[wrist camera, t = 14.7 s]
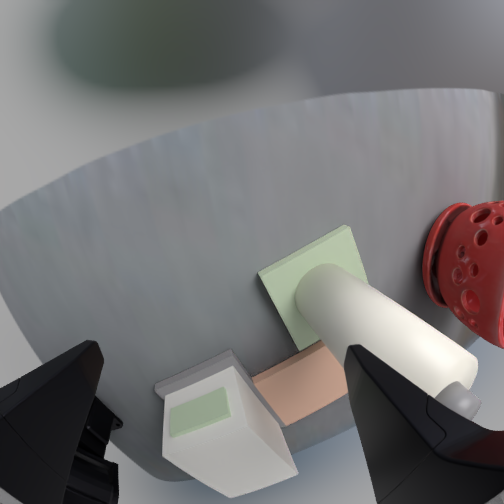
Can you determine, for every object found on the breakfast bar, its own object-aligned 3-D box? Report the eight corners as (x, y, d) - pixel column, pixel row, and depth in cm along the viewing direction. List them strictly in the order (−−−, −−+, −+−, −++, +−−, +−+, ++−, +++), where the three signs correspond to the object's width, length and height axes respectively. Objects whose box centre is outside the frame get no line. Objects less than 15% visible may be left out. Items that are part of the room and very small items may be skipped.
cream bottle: (308, 330, 23) (416, 475, 8) (285, 283, 21) (416, 438, 6) (357, 300, 23) (490, 410, 8) (339, 252, 22) (507, 349, 7)
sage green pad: (295, 345, 24) (299, 351, 23) (257, 272, 22) (260, 276, 21) (368, 300, 25) (374, 304, 24) (343, 224, 22) (349, 226, 21)
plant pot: (484, 251, 27) (552, 278, 16) (429, 324, 28) (498, 373, 16) (458, 167, 23) (547, 176, 12) (391, 245, 24) (494, 288, 12)
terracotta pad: (283, 419, 27) (286, 426, 26) (251, 377, 24) (253, 384, 23) (347, 384, 27) (351, 390, 26) (327, 336, 25) (332, 341, 24)
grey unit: (220, 446, 26) (231, 502, 19) (155, 383, 22) (148, 450, 15) (283, 419, 27) (307, 474, 19) (230, 348, 23) (248, 415, 15)
